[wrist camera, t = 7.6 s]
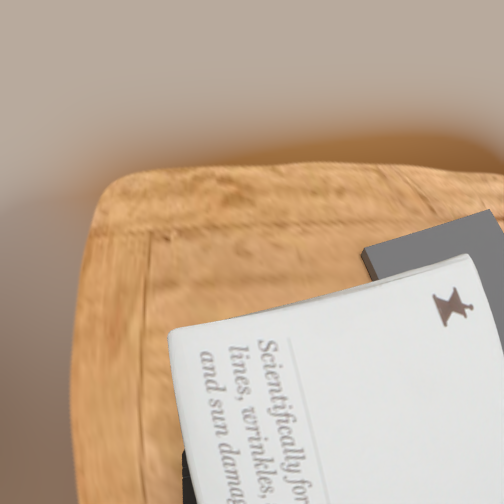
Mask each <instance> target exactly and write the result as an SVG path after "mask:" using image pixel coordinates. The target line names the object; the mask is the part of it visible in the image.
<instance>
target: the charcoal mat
mask: <svg viewBox="0 0 504 504" xmlns="http://www.w3.org/2000/svg"><path fill="white" fill-rule="evenodd" d="M461 254H468V255H469V256H470V257H471V259H472V261H473V263H474V265H475V267H476V269H477V271H478V274H479V277H480V280H481V283H482V286H483V289H484V292H485V295H486V297H487V300H488V303H489V306H490V309H491V312H492V315H493V318H494V321H495V324H496V328H497V331H498V335H499V338H500V342H501V346H502V350H503V354H504V233H503V231H502V230H501V228H500V226H499V224H498V223H497V221H496V219H495V217H494V216H493V214H492V213H491V211H490V209H488V210H485V211H482V212H479V213H476V214H473V215H470V216H466V217H463V218H460V219H457V220H454V221H451V222H448V223H444V224H441V225H438V226H435V227H432V228H428V229H425V230H422V231H419V232H415V233H412V234H409V235H406V236H402V237H399V238H396V239H392V240H389V241H386V242H382V243H379V244H376V245H372V246H369V247H366V248H364V250H363V251H362V253H361V256H362V259H363V261H364V263H365V265H366V267H367V270H368V272H369V274H370V276H371V279H372V281H373V282H374V281H377V280H381V279H384V278H387V277H390V276H394V275H397V274H400V273H403V272H406V271H410V270H413V269H417V268H421V267H425V266H428V265H432V264H435V263H438V262H441V261H444V260H447V259H450V258H452V257H455V256H458V255H461Z"/></svg>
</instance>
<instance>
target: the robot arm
mask: <svg viewBox="0 0 504 504" xmlns="http://www.w3.org/2000/svg"><path fill="white" fill-rule="evenodd" d="M182 467H183V469H182V477H183V479H182V481H183V504H197V501H196V497H195V493H194V488H193V484H192V480H191V476H190V471H189V467H188V462H187V457H186V452H185V449H184V451H183V454H182Z"/></svg>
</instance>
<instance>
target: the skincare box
mask: <svg viewBox="0 0 504 504" xmlns="http://www.w3.org/2000/svg"><path fill="white" fill-rule="evenodd" d="M167 339H168V348H169V357H170V364H171V371H172V378H173V384H174V391H175V397H176V403H177V409H178V415H179V421H180V426H181V432H182V437H183V442H184V447H185V452H186V457H187V462H188V467H189V471H190V476H191V480H192V484H193V488H194V493H195V497H196V501H197V504H504V354H503V350H502V346H501V342H500V338H499V335H498V331H497V328H496V324H495V321H494V318H493V315H492V312H491V309H490V306H489V303H488V300H487V297H486V295H485V292H484V289H483V286H482V283H481V280H480V277H479V274H478V271H477V269H476V267H475V265H474V263H473V261H472V259H471V257H470V256H469V255H468V254H461V255H458V256H455V257H452V258H450V259H447V260H444V261H441V262H438V263H435V264H432V265H428V266H425V267H421V268H417V269H413V270H410V271H406V272H403V273H400V274H397V275H394V276H390V277H387V278H384V279H381V280H377V281H374V282H370V283H367V284H363V285H360V286H356V287H352V288H349V289H345V290H341V291H338V292H334V293H330V294H326V295H322V296H318V297H314V298H311V299H307V300H303V301H299V302H295V303H291V304H287V305H283V306H279V307H275V308H271V309H267V310H262V311H258V312H254V313H250V314H246V315H242V316H238V317H234V318H229V319H225V320H221V321H216V322H210V323H205V324H199V325H193V326H187V327H181V328H176V329H174V330H171V331H170V332H169V333H168V337H167Z"/></svg>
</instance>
